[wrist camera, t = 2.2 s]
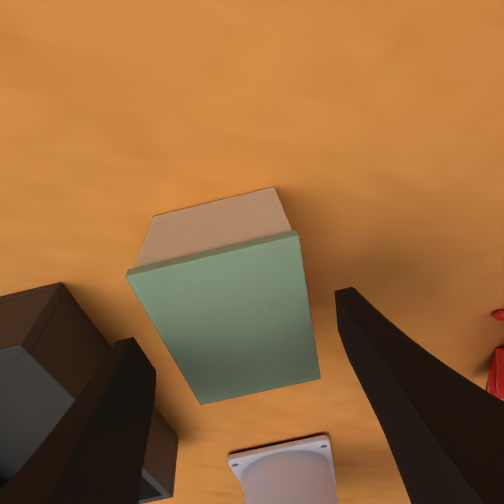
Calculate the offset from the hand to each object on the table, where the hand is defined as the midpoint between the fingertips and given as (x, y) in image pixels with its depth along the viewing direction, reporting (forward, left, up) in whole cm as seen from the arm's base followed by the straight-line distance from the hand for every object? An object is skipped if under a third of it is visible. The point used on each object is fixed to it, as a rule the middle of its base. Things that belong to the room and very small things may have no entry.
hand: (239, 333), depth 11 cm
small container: (0, 0, -4) cm, 4 cm away
